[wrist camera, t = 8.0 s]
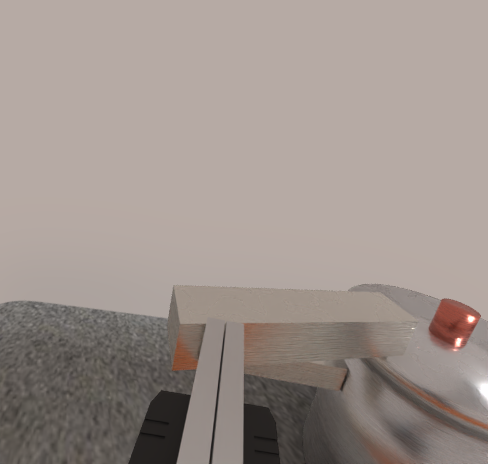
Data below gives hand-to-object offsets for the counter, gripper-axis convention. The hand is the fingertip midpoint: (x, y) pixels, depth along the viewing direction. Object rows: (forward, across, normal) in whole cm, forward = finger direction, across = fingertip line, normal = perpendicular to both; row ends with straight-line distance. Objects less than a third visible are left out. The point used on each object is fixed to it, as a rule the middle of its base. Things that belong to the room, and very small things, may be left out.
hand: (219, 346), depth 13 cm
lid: (+6, +11, -3) cm, 13 cm away
